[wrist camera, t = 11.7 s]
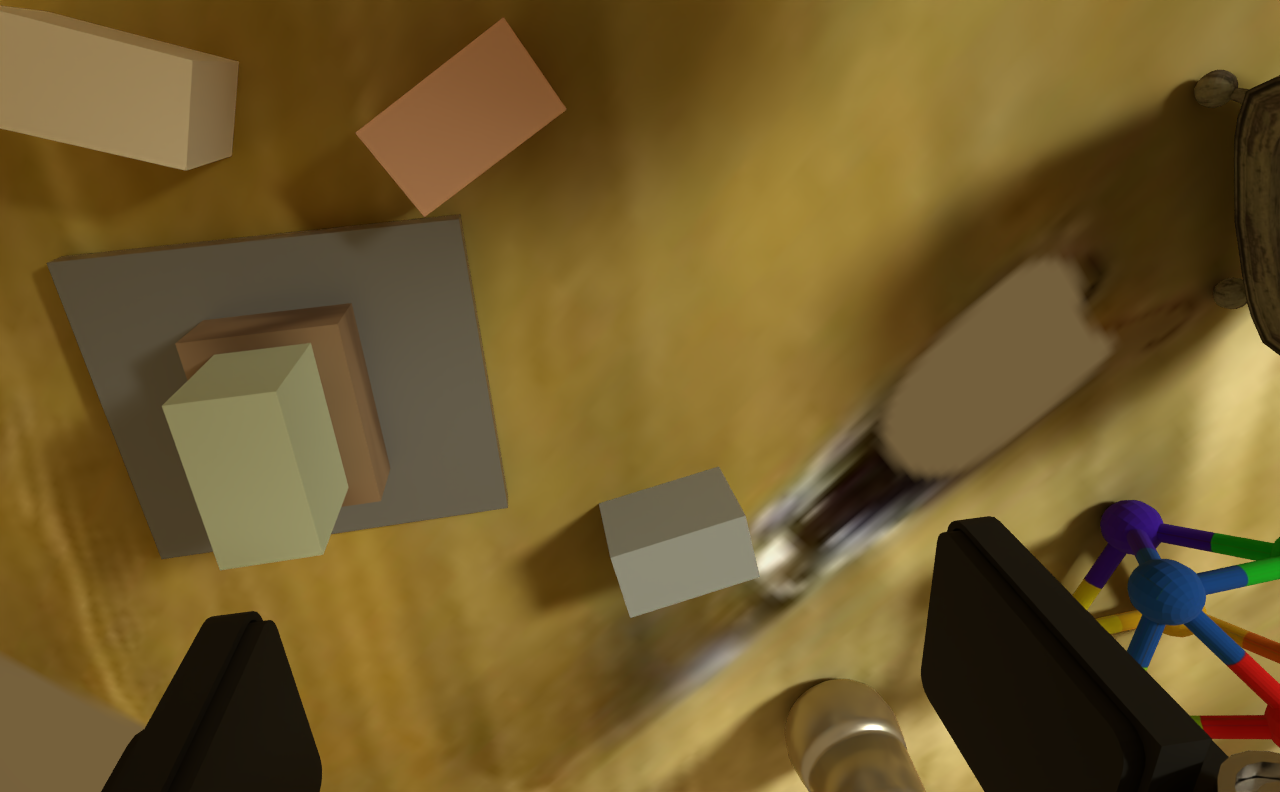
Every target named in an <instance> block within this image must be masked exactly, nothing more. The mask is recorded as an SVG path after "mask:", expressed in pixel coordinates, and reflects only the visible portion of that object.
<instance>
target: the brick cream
mask: <svg viewBox="0 0 1280 792" xmlns="http://www.w3.org/2000/svg"><path fill="white" fill-rule="evenodd" d="M238 69H239V62H238V61H234V60H231V59H227V58H223V57H219V56H215V55H212V54H208V53H204V52H200V51H196V50H193V49H189V48H185V47H181V46H177V45H173V44H170V43H166V42H162V41H158V40H154V39H151V38H147V37H143V36H139V35H135V34H132V33H128V32H124V31H120V30H116V29H112V28H109V27H105V26H101V25H97V24H93V23H90V22H86V21H82V20H78V19H74V18H71V17H67V16H63V15H59V14H55V13H51V12H48V11H40V10H32V9H24V8H16V7H7V6H0V129H5V130H9V131H14V132H18V133H22V134H27V135H31V136H36V137H40V138H44V139H49V140H53V141H58V142H62V143H67V144H71V145H75V146H80V147H84V148H89V149H93V150H97V151H102V152H106V153H111V154H115V155H119V156H124V157H128V158H133V159H137V160H141V161H146V162H150V163H155V164H159V165H163V166H168V167H172V168H177V169H181V170H185V171H187V170H190V169H193V168H196V167H199V166H202V165H205V164H209V163H212V162H215V161H218V160H221V159H224V158H227V157H230V156H232V147H233V134H234V121H235V108H236V95H237V82H238Z"/></svg>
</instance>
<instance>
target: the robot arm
mask: <svg viewBox="0 0 1280 792" xmlns="http://www.w3.org/2000/svg"><path fill="white" fill-rule="evenodd" d="M921 679H922V684H923V688H924V691H925V693H926V695H927V697H928V699H929V701H930V702H931V704H932V706H933V707H934V709H935V711H936V712H937V714H938V716H939V717H940V719H941V721H942V722H943V724H944V726H945V727H946V729H947V731H948V732H949V734H950V735H951V737H952V739H953V740H954V742H955V744H956V745H957V747H958V749H959V750H960V752H961V754H962V755H963V757H964V759H965V760H966V762H967V764H968V765H969V767H970V769H971V770H972V772H973V773H974V775H975V777H976V778H977V780H978V782H979V783H980V785H981V787H982V788H983V790H984V792H1280V754H1279V753H1274V752H1270V751H1245V752H1241V753H1237V754H1234V755H1231V756H1230V757H1228V756H1227V755H1226V754H1225V753H1224V752H1223V751H1222V750H1221V749H1220V748H1219V747H1218V746H1217V745H1216V744H1215V743H1214V742H1213V741H1212V738H1211V737H1210V736H1209V735H1208V734H1207V733H1206V732H1205V731H1204V730H1203V729H1202V728H1201V727H1200V726H1199V725H1198V724H1197V723H1196V722H1195V721H1194V720H1193V719H1192V718H1191V717H1190V716H1189V715H1188V714H1187V713H1186V711H1185V710H1184V709H1183V708H1182V707H1181V706H1180V705H1179V704H1178V703H1177V702H1176V701H1175V700H1174V699H1173V698H1172V697H1171V696H1170V695H1169V694H1168V693H1167V692H1166V691H1165V690H1164V689H1163V688H1162V687H1161V686H1160V685H1159V684H1158V683H1157V682H1156V681H1155V680H1154V679H1153V678H1152V677H1151V676H1150V675H1149V674H1148V673H1147V672H1146V671H1145V669H1144V668H1143V667H1142V666H1141V665H1140V664H1139V663H1138V662H1137V661H1136V660H1135V659H1134V658H1133V657H1132V656H1131V655H1130V654H1129V653H1128V652H1127V651H1126V650H1125V649H1124V648H1123V647H1122V646H1121V645H1120V644H1119V643H1118V642H1117V641H1116V640H1115V639H1114V638H1113V637H1112V636H1111V635H1110V634H1109V633H1108V632H1107V631H1106V630H1105V629H1104V628H1103V626H1102V625H1101V624H1100V623H1099V622H1098V621H1097V620H1096V619H1095V618H1094V617H1093V616H1092V615H1091V614H1090V613H1089V612H1088V611H1087V610H1086V609H1085V608H1084V607H1083V606H1082V605H1081V604H1080V603H1079V602H1078V601H1077V600H1076V599H1075V598H1074V597H1073V596H1072V595H1071V594H1070V593H1069V592H1068V591H1067V590H1066V589H1065V588H1064V587H1063V586H1062V584H1061V583H1060V582H1059V581H1058V580H1057V579H1056V578H1055V577H1054V576H1053V575H1052V574H1051V573H1050V572H1049V571H1048V570H1047V569H1046V568H1045V567H1044V566H1043V565H1042V564H1041V563H1040V562H1039V561H1038V560H1037V559H1036V558H1035V557H1034V556H1033V555H1032V554H1031V553H1030V552H1029V551H1028V550H1027V549H1026V548H1025V547H1024V546H1023V545H1022V544H1021V543H1020V541H1019V540H1018V539H1017V538H1016V537H1015V536H1014V535H1013V534H1012V533H1011V532H1010V531H1009V530H1008V529H1007V528H1006V527H1005V526H1004V525H1003V524H1002V523H1001V522H1000V521H999V520H997V519H996V518H995V517H991V516H988V517H980V518H973V519H965V520H957V521H953V522H951V524H950V525H949V527H948V530H947V532H943V533H941V534H940V535H939V537H938V540H937V547H936V555H935V563H934V571H933V579H932V586H931V594H930V602H929V610H928V618H927V626H926V634H925V642H924V650H923V658H922V666H921ZM321 780H322V765H321V760H320V756H319V753H318V750H317V747H316V744H315V741H314V738H313V735H312V732H311V729H310V726H309V723H308V720H307V717H306V714H305V711H304V708H303V705H302V702H301V699H300V696H299V693H298V690H297V687H296V683H295V680H294V677H293V674H292V671H291V668H290V665H289V662H288V659H287V656H286V653H285V650H284V647H283V644H282V641H281V638H280V635H279V632H278V629H277V627H276V625H275V623H274V622H273V621H271V620H267V621H263V620H262V618H261V616H260V615H259V614H258V613H257V612H254V611H251V612H243V613H235V614H228V615H220V616H212V617H210V618H208V619H207V620H206V621H205V622H204V623H203V625H202V627H201V628H200V630H199V632H198V634H197V636H196V637H195V639H194V641H193V643H192V645H191V646H190V648H189V650H188V652H187V654H186V655H185V657H184V659H183V661H182V663H181V664H180V666H179V668H178V670H177V672H176V673H175V675H174V677H173V679H172V681H171V682H170V684H169V686H168V688H167V690H166V691H165V693H164V695H163V697H162V699H161V700H160V702H159V704H158V706H157V708H156V709H155V711H154V713H153V715H152V717H151V718H150V720H149V722H148V724H147V726H146V727H145V729H144V730H142V731H141V732H139V733H138V734H136V735H135V736H134V738H133V739H132V740H131V742H130V743H129V744H128V746H127V747H126V749H125V751H124V752H123V754H122V756H121V758H120V759H119V761H118V763H117V765H116V766H115V768H114V770H113V772H112V774H111V776H110V777H109V779H108V780H107V782H106V784H105V786H104V788H103V789H102V791H101V792H320V787H321Z"/></svg>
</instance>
